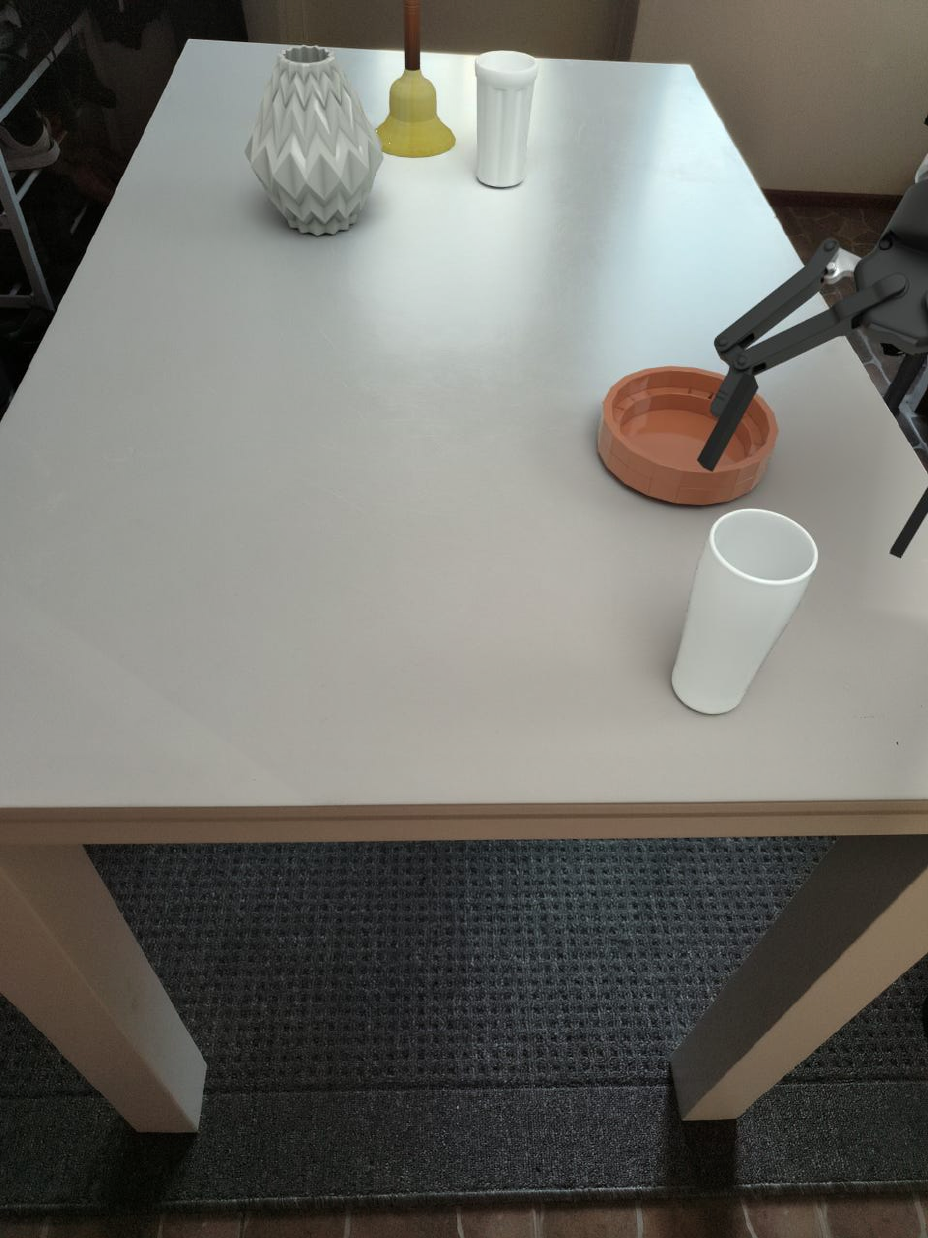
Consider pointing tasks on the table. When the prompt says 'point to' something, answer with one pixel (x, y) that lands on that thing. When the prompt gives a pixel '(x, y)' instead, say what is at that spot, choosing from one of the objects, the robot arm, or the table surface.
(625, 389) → the bowl
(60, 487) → the table surface
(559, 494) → the table surface
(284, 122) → the vase
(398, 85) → the handbell
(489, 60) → the cup
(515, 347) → the table surface
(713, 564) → the drinking glass
